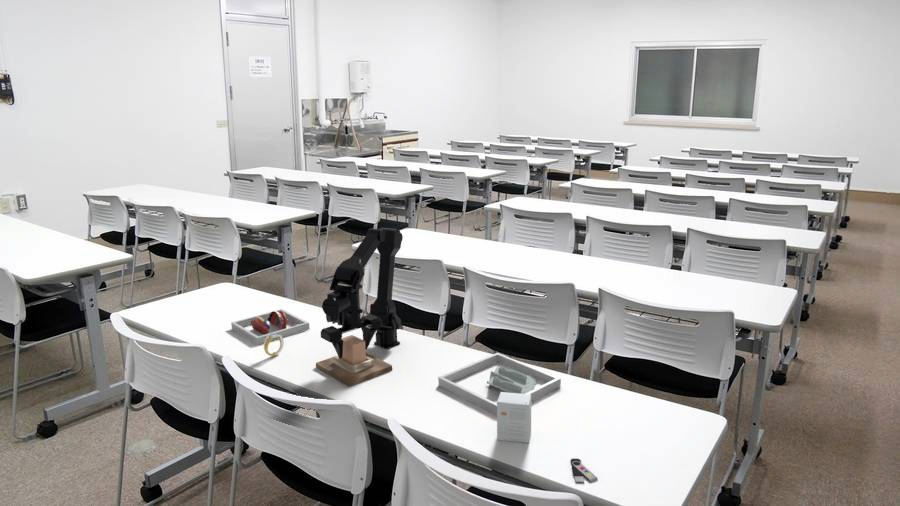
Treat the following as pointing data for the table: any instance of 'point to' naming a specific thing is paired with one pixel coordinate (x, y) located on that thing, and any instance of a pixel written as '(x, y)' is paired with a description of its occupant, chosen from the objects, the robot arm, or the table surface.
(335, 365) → the socket board
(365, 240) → the robot arm
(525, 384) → the metal bracket
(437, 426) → the table surface
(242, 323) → the jewellery tray
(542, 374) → the bracket rim
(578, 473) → the usb flash drive
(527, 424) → the small box
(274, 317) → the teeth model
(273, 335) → the ring
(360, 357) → the key block
